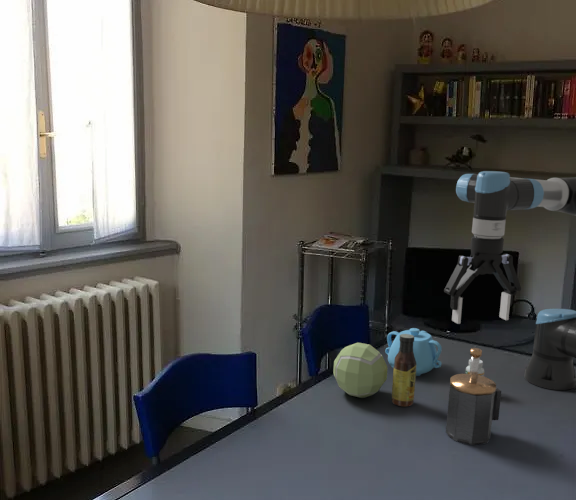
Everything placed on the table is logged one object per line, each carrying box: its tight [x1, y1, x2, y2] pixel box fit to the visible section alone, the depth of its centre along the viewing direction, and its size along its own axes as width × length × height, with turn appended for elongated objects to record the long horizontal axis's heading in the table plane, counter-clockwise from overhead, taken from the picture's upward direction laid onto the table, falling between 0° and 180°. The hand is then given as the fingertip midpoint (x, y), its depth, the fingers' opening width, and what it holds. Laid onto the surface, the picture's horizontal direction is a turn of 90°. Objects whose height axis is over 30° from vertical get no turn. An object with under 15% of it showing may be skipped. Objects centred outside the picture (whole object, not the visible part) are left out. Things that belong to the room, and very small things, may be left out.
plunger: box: [449, 347, 497, 395], centre depth 160 cm, size 11×11×21 cm
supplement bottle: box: [465, 358, 485, 377], centre depth 189 cm, size 5×5×10 cm
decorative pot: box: [384, 327, 443, 377], centre depth 205 cm, size 16×16×14 cm
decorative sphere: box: [332, 342, 388, 399], centre depth 183 cm, size 15×15×15 cm
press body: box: [445, 384, 502, 446], centre depth 162 cm, size 14×11×13 cm
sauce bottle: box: [391, 334, 417, 408], centre depth 178 cm, size 7×6×20 cm
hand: (480, 320), depth 157 cm, fingers open, 13 cm apart
